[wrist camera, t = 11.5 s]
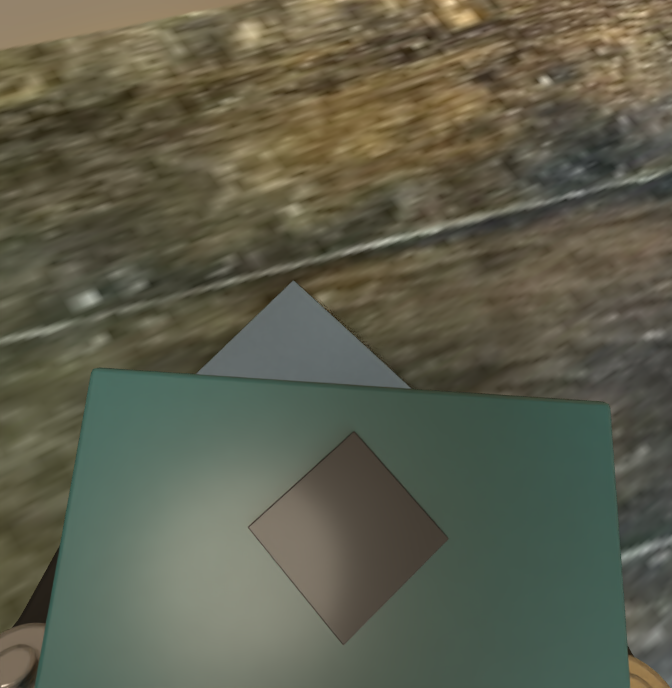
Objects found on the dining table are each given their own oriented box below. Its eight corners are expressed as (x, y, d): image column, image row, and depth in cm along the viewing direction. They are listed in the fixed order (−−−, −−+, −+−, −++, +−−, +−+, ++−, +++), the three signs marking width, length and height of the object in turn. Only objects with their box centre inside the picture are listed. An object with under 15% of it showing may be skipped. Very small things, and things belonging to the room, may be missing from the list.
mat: (96, 472, 25) (92, 472, 25) (293, 282, 28) (293, 279, 28) (428, 822, 22) (430, 829, 22) (609, 572, 25) (613, 573, 25)
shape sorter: (203, 656, 14) (-51, 1103, 4) (228, 427, 15) (87, 353, 6) (420, 667, 14) (672, 1115, 4) (424, 439, 16) (616, 389, 6)
